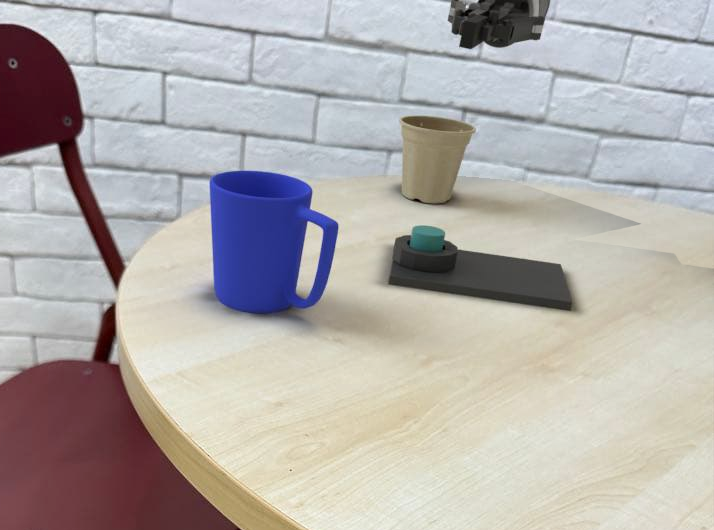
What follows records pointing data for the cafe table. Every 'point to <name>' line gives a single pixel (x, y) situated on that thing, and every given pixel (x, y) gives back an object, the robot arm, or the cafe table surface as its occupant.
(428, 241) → the button
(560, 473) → the cafe table surface
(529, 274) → the dark grey piece
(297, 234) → the mug
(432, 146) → the flower pot
